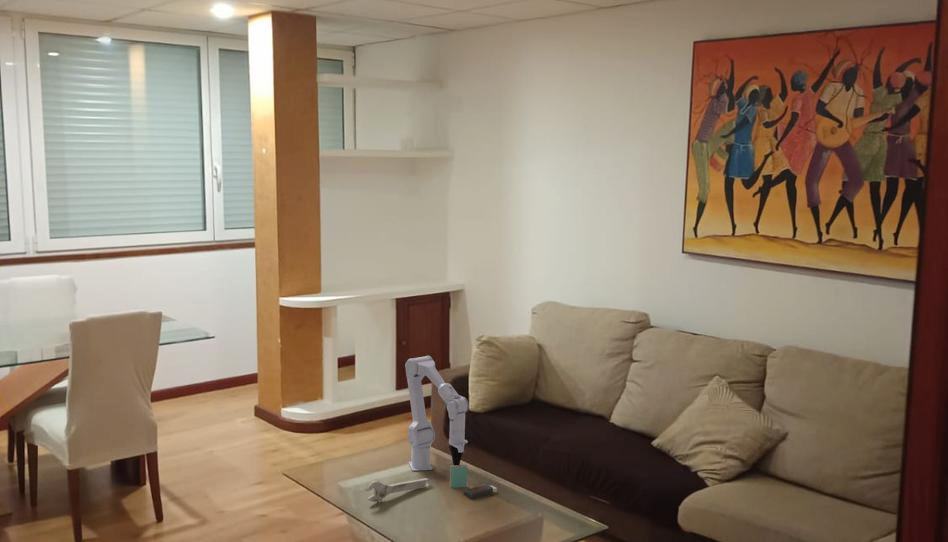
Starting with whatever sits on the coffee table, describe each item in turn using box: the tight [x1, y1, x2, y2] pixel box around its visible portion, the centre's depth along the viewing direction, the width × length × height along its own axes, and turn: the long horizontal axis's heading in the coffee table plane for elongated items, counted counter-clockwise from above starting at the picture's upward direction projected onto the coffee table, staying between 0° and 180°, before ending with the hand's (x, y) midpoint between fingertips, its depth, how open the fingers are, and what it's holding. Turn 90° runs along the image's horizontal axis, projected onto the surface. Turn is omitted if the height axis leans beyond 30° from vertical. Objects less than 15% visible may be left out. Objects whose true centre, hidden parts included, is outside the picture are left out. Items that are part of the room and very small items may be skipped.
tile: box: [449, 464, 468, 489], centre depth 303 cm, size 2×6×8 cm, turn 104°
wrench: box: [365, 477, 432, 504], centre depth 293 cm, size 8×2×30 cm
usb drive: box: [463, 484, 498, 501], centre depth 296 cm, size 5×12×3 cm, turn 126°
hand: (456, 464), depth 306 cm, fingers closed
